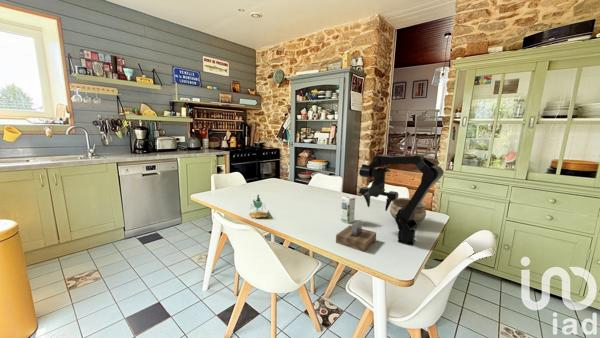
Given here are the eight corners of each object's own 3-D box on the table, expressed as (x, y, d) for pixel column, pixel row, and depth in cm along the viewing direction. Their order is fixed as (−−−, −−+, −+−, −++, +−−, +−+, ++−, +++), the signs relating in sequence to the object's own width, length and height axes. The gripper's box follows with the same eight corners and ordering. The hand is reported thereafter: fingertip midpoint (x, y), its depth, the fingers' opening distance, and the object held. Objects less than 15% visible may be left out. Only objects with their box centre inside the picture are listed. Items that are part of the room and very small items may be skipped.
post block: (375, 240, 115) (376, 232, 115) (364, 251, 105) (364, 243, 104) (349, 232, 124) (349, 225, 123) (335, 242, 113) (336, 234, 112)
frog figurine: (264, 222, 137) (261, 197, 135) (243, 218, 148) (241, 195, 146) (275, 217, 145) (273, 193, 143) (255, 214, 156) (252, 191, 154)
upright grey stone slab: (361, 238, 116) (362, 222, 114) (356, 242, 111) (356, 226, 110) (356, 236, 117) (357, 221, 116) (351, 241, 112) (351, 225, 111)
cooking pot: (418, 234, 122) (421, 211, 120) (382, 225, 134) (383, 204, 132) (429, 220, 141) (431, 200, 139) (396, 213, 153) (397, 194, 151)
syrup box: (340, 220, 140) (341, 196, 138) (346, 218, 144) (347, 195, 141) (348, 223, 136) (349, 199, 133) (354, 221, 139) (355, 197, 137)
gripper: (355, 179, 121) (353, 209, 124) (393, 185, 110) (390, 217, 113) (364, 176, 130) (362, 204, 133) (399, 181, 119) (397, 211, 121)
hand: (377, 208), depth 125 cm, fingers open, 9 cm apart
